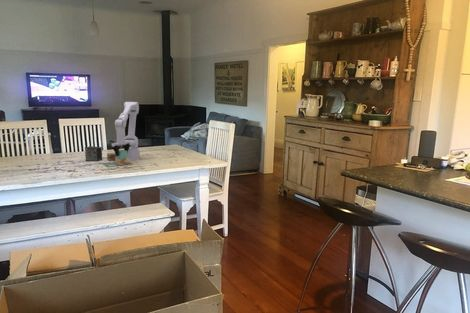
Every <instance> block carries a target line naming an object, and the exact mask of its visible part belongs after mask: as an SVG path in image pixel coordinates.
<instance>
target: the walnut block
mask: <svg viewBox="0 0 470 313" xmlns="http://www.w3.org/2000/svg"><path fill="white" fill-rule="evenodd" d="M106 156H107V157H106V158H107V161H108V162H116V161H115V158H116V154H115V152H112V153H107V155H106Z"/></svg>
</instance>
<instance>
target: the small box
mask: <svg viewBox="0 0 470 313" xmlns="http://www.w3.org/2000/svg"><path fill="white" fill-rule="evenodd" d="M84 153H85V154H84V155H85V162H100V161H103V148H102V146H91V145H90V146H86V147H85V146H84Z"/></svg>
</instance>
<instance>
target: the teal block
mask: <svg viewBox="0 0 470 313" xmlns="http://www.w3.org/2000/svg"><path fill="white" fill-rule="evenodd" d="M126 158H127V151H126V150H124V149H119V156H116V159H126Z"/></svg>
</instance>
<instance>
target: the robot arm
mask: <svg viewBox="0 0 470 313" xmlns="http://www.w3.org/2000/svg"><path fill="white" fill-rule="evenodd" d="M123 108H124V109H123V112H121V113H120V115H119V116H118V119H115V121H114V127H115V131H116V132H115V133H116V142H113V143H111V148H112V150H113V151H114V152H113V153H115V154H116V156H119V150H120V146H122V147H123V150H126V151H127V158H128V161H132V160H133V161H134V160H141V158H140V157H141V155H140V154H141V153H140V149H139V147H138V146H139V138H138V137H137V136H136V124H137V123H136V121H137V115H138V114H139V111H140V106H139V102H138V101H125V102H124V103H123ZM128 118H129V120H128ZM127 121H128V128H127V129H128V132H127V135H126V130H125V129H126V127H127Z"/></svg>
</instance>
